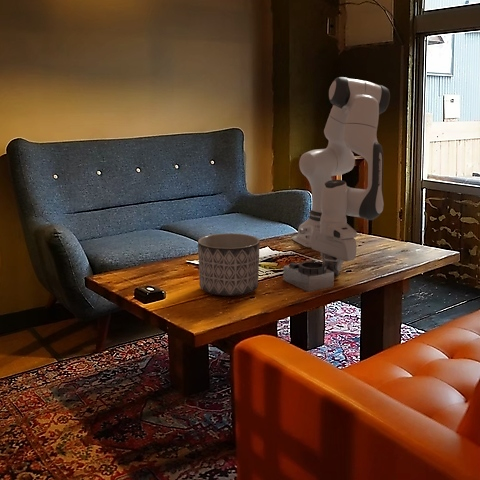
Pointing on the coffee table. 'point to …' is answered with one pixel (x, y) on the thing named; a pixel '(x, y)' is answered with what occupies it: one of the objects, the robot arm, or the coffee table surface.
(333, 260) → the lens
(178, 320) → the coffee table surface
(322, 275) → the camera body
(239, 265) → the planter
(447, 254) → the coffee table surface
